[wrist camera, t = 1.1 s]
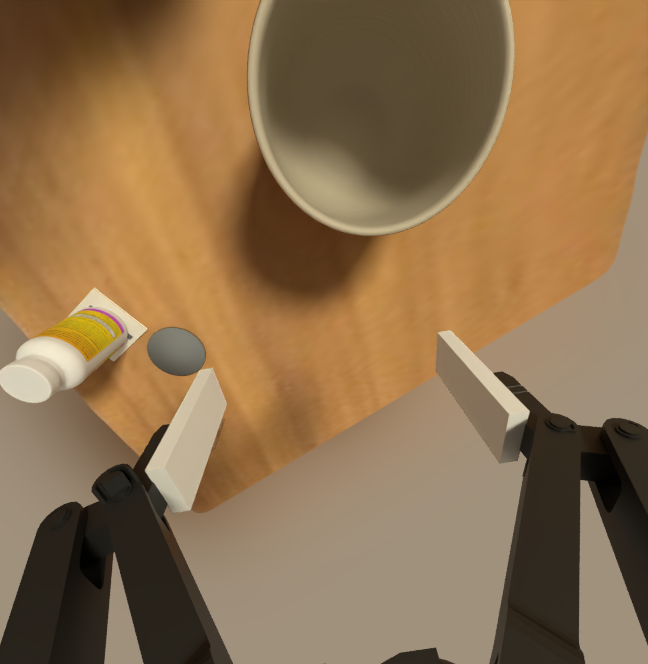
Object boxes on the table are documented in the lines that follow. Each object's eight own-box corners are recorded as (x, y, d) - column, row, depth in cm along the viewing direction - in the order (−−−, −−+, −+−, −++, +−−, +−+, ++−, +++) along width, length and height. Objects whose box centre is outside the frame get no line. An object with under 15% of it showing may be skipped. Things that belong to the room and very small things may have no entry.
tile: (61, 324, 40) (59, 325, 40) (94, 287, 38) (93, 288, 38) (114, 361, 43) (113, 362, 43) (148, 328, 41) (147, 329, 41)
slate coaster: (137, 349, 43) (135, 351, 42) (172, 316, 41) (170, 317, 40) (182, 382, 46) (181, 384, 45) (217, 353, 44) (216, 354, 43)
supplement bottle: (78, 298, 38) (-19, 347, 27) (132, 314, 40) (62, 367, 28) (76, 340, 41) (-12, 401, 30) (127, 354, 42) (61, 417, 31)
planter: (339, -24, 27) (374, -234, 13) (458, 119, 32) (568, 73, 19) (241, 148, 32) (195, 123, 19) (356, 245, 38) (385, 280, 24)
